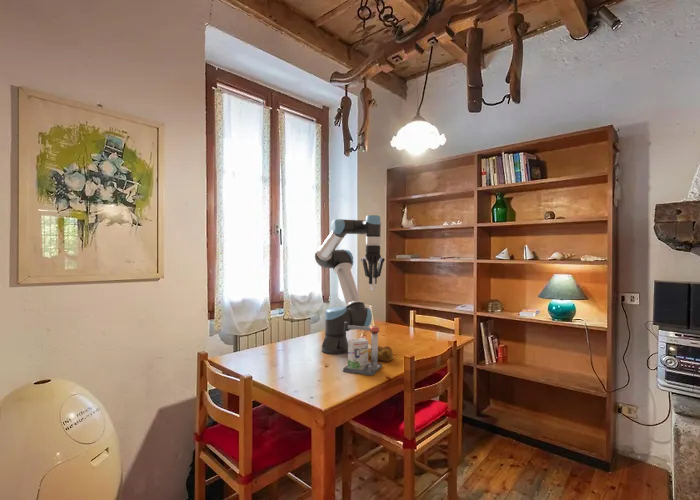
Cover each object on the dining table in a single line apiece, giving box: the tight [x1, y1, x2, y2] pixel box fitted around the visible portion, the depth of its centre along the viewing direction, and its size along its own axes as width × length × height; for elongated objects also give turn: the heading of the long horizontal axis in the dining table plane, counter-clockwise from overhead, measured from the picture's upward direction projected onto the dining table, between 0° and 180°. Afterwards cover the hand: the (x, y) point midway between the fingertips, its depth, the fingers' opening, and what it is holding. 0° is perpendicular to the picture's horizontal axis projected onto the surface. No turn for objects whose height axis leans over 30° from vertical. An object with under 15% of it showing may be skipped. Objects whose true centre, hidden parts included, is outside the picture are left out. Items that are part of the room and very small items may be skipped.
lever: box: [344, 322, 380, 334], centre depth 174 cm, size 4×18×4 cm, turn 64°
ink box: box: [347, 337, 369, 367], centre depth 175 cm, size 9×5×12 cm, turn 117°
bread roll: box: [368, 345, 394, 363], centre depth 189 cm, size 13×10×8 cm
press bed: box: [342, 332, 383, 377], centre depth 174 cm, size 15×14×18 cm
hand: (372, 290), depth 194 cm, fingers closed
